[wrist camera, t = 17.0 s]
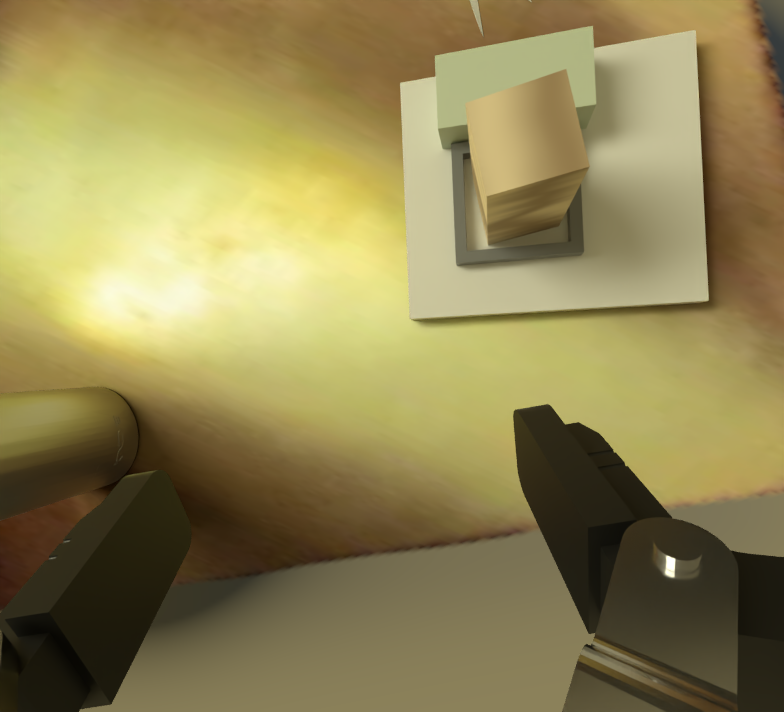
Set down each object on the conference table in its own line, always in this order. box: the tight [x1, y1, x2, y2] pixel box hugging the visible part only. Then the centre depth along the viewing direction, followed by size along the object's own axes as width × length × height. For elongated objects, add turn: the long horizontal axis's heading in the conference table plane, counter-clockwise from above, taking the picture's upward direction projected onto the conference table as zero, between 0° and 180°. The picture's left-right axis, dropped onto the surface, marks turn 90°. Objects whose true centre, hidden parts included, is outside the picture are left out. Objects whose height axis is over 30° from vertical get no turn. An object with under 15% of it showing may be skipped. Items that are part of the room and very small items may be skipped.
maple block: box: [465, 69, 590, 245], centre depth 27 cm, size 5×5×10 cm
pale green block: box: [435, 26, 596, 149], centre depth 30 cm, size 10×5×3 cm, turn 92°
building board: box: [400, 30, 709, 320], centre depth 31 cm, size 20×18×2 cm
